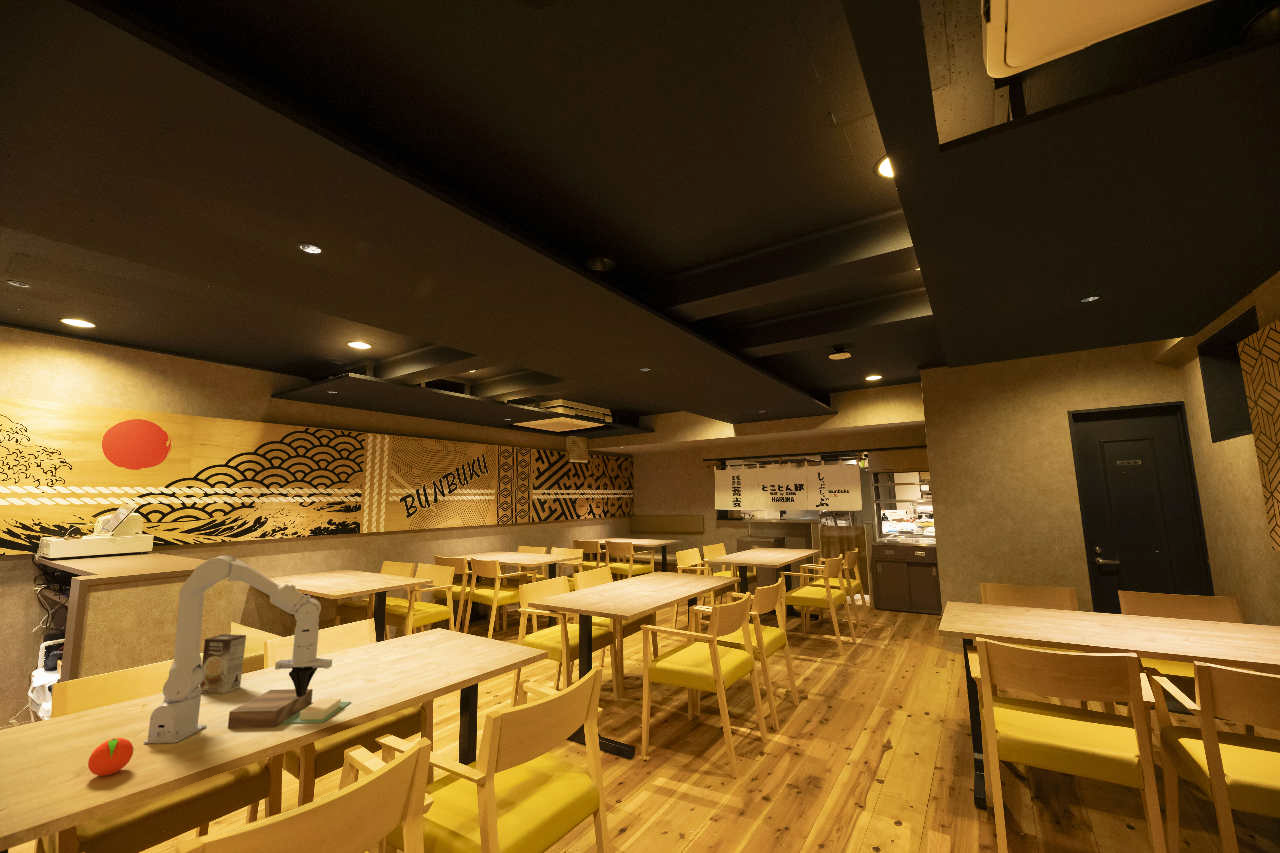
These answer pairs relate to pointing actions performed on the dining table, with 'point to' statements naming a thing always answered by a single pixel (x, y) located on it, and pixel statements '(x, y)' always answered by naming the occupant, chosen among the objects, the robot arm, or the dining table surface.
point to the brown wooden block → (269, 709)
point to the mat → (295, 719)
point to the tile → (320, 709)
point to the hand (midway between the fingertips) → (301, 695)
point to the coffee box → (222, 663)
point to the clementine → (110, 756)
